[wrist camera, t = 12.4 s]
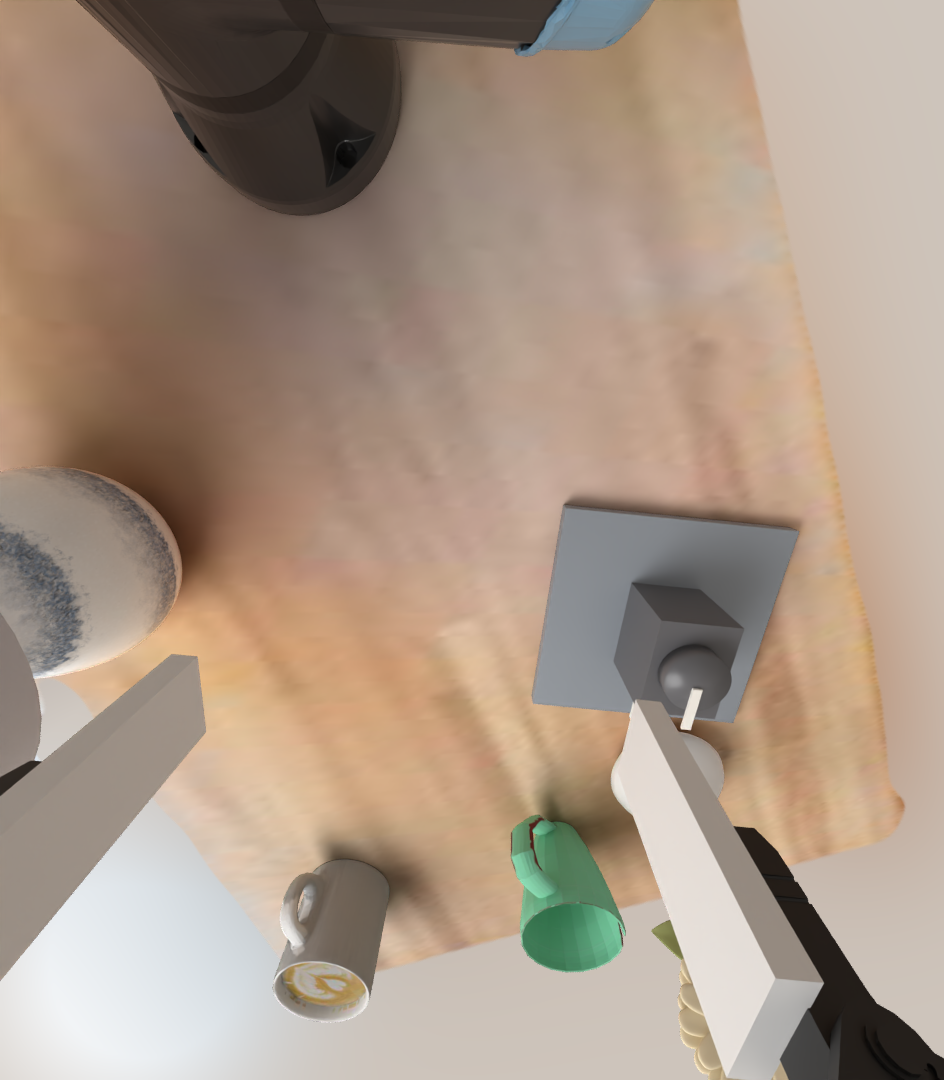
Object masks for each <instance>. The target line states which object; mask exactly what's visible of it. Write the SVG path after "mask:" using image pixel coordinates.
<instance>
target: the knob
mask: <svg viewBox="0 0 944 1080" xmlns="http://www.w3.org/2000/svg"><path fill="white" fill-rule="evenodd" d="M743 632H744V628H743V627H742V626H741V625H740V624H739V623H737V622H736V621H735V620H734V619H733V618H732V617H731V616H730V615H728V614H727V613H726V612H725V611H724V610H723V609H722V608H721V607H719V606H718V605H717V604H716V603H715V602H714V601H713V600H712V599H711V598H709V597H708V596H707V595H706V594H705V593H704V592H703V591H702V590H700V589H691V588H681V587H671V586H661V585H651V584H641V583H631V587H630V591H629V595H628V600H627V604H626V609H625V613H624V617H623V622H622V626H621V630H620V635H619V639H618V643H617V648H616V652H615V657H614V661H613V662H614V664H615V666H616V668H617V670H618V672H619V674H620V676H621V678H622V680H623V682H624V684H625V686H626V688H627V690H628V692H629V694H630V696H631V698H632V701H633V703H634V704H635V700H636V699H638V700H648V701H658V702H661V703H662V704H663V706H664V708H665V710H666V711H667V713H668V715H678V716H684V717H683V720H682V724H681V727H680V728H681V729H684V730H691V727H692V724H693V721H694V717H698V718H708V719H715V717H716V714H717V711H718V708H719V705H720V702H721V700H722V699H723V698H724V697H725V696H726V695H727V693H728V691H729V689H730V687H731V682H732V676H731V672H730V671H731V668H732V665H733V662H734V659H735V656H736V653H737V650H738V647H739V644H740V641H741V638H742V635H743Z"/></svg>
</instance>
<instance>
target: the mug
mask: <svg viewBox="0 0 944 1080" xmlns="http://www.w3.org/2000/svg"><path fill="white" fill-rule="evenodd" d="M533 833H535V834H536V836H535V839H534V840H533ZM511 860H512V863H513V866H514V869H515V872H516V875H517V878H518V879H519V880H520V881H521V883H522V884H523V885H524V892H523V901H522V911H521V920H520V931H521V942H522V947H523V948H524V950H525V952H526V953H527V955H528V956H529V957H530V958H531V959H533V960H534V961H535V962H536V963H538V964H539V965H542V966H544V967H546V968H549V969H551V970H556V971H562V972H584V971H588V970H592V969H596V968H599V967H600V966H603V965H605V964H607V963H609V962H611V961H612V960H613V959H614V958H615V957H616V956H617V955H618V954H619V953H620V951H621V949H622V947H623V938H622V933H621V929H622V931H623V934H624V936H625V935H626V931H625V927H624V923H623V920H622V918H621V915H620V913H619V911H618V909H617V906H616V904H615V902H614V899H613V897H612V895H611V892H610V890H609V888H608V886H607V884H606V882H605V880H604V878H603V876H602V874H601V872H600V870H599V868H598V866H597V864H596V862H595V860H594V859H593V857H592V855H591V853H590V852H589V850H588V848H587V846H586V845H585V843H584V842H583V840H582V839H581V838H580V836H579V835H578V833H577V832H576V830H575V829H574V828H573V827H572V826H571V825H569V824H567V823H564V822H550V821H548V820H546V819H545V818H543V817H542V816H540V815H534V816H531V817H529V818H527V819H526V820H524V821H523V822H522V823H520V824H519V825H517V826H516V827H515V828H514V830H513V831H512V833H511ZM620 926H621V929H620Z"/></svg>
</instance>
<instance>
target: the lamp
mask: <svg viewBox="0 0 944 1080" xmlns="http://www.w3.org/2000/svg"><path fill="white" fill-rule="evenodd" d="M181 581H182V560H181V555H180V551H179V547H178V544H177V542H176V539H175V537H174V535H173V533H172V531H171V529H170V527H169V526H168V524H167V523H166V521H165V520H164V519H163V517H162V516H161V515H160V514H159V512H158V511H157V510H156V509H155V508H154V507H153V506H152V505H151V504H150V503H149V502H148V501H147V500H145V499H144V498H143V497H142V496H140V495H139V494H138V493H136V492H135V491H133V490H132V489H130V488H128V487H127V486H125V485H123V484H121V483H119V482H117V481H115V480H113V479H110V478H108V477H105V476H103V475H99V474H96V473H93V472H90V471H85V470H81V469H75V468H69V467H61V466H31V467H21V468H13V469H8V470H3V471H0V777H1V776H3V775H5V774H6V773H8V772H10V771H12V770H14V769H16V768H17V767H19V766H21V765H23V764H25V763H27V762H29V761H30V760H31V761H34V759H35V756H36V753H37V750H38V746H39V743H40V732H41V711H40V703H39V695H38V690H37V687H36V684H35V681H34V679H35V678H46V677H53V676H59V675H64V674H69V673H74V672H78V671H81V670H85V669H88V668H92V667H95V666H97V665H100V664H103V663H105V662H108V661H110V660H113V659H115V658H117V657H119V656H121V655H123V654H125V653H126V652H128V651H130V650H132V649H133V648H135V647H136V646H138V645H139V644H141V643H142V642H143V641H144V640H145V639H147V638H148V637H149V636H150V635H151V634H153V633H154V632H155V631H156V630H157V629H158V628H159V627H160V626H161V624H162V623H163V622H164V620H165V619H166V618H167V616H168V615H169V613H170V611H171V610H172V608H173V606H174V604H175V602H176V599H177V597H178V594H179V591H180V587H181Z"/></svg>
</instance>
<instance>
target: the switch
mask: <svg viewBox="0 0 944 1080" xmlns="http://www.w3.org/2000/svg"><path fill="white" fill-rule="evenodd" d="M798 534H799V531H797V530H795V529H792V528H790V527H780V526H770V525H760V524H750V523H740V522H730V521H720V520H710V519H700V518H690V517H681V516H671V515H661V514H651V513H641V512H631V511H621V510H611V509H601V508H591V507H581V506H571V505H563V510H562V516H561V522H560V528H559V534H558V540H557V546H556V552H555V558H554V564H553V570H552V576H551V582H550V588H549V594H548V600H547V607H546V613H545V619H544V625H543V631H542V637H541V643H540V649H539V655H538V661H537V667H536V673H535V679H534V685H533V691H532V701H533V704H543V705H553V706H563V707H573V708H584V709H594V710H604V711H615V712H625V713H630V716H629V718H631V716H632V712H633V708H634V703H633V701H632V698H631V696H630V694H629V692H628V690H627V688H626V686H625V684H624V682H623V680H622V678H621V676H620V674H619V672H618V670H617V668H616V666H615V664H614V662H613V661H614V657H615V652H616V648H617V643H618V639H619V635H620V630H621V626H622V622H623V617H624V613H625V609H626V604H627V600H628V595H629V591H630V587H631V583H641V584H651V585H661V586H671V587H681V588H691V589H700V590H702V591H703V592H704V593H705V594H706V595H707V596H708V597H709V598H711V599H712V600H713V601H714V602H715V603H716V604H717V605H718V606H719V607H721V608H722V609H723V610H724V611H725V612H726V613H727V614H728V615H730V616H731V617H732V618H733V619H734V620H735V621H736V622H737V623H739V624H740V625H741V626H742V627H743V628H744V632H743V635H742V638H741V641H740V644H739V647H738V650H737V653H736V656H735V659H734V662H733V665H732V668H731V671H730V672H731V676H732V682H731V687H730V689H729V691H728V693H727V695H726V696H725V697H724V698H723V699H722V700H721V702H720V705H719V708H718V711H717V714H716V717H715V719H708V718H698V717H694V719H697V720H707V721H717V722H728V723H733V722H734V719H735V716H736V713H737V711H738V708H739V705H740V702H741V699H742V696H743V693H744V690H745V687H746V685H747V682H748V679H749V676H750V673H751V670H752V667H753V664H754V661H755V658H756V656H757V653H758V650H759V647H760V644H761V641H762V638H763V635H764V632H765V630H766V627H767V624H768V621H769V618H770V615H771V612H772V609H773V606H774V604H775V601H776V598H777V595H778V592H779V589H780V586H781V583H782V580H783V577H784V575H785V572H786V569H787V566H788V563H789V560H790V557H791V554H792V551H793V549H794V546H795V543H796V540H797V537H798ZM669 716H670V717H676V718H683V717H684V716H678V715H669Z"/></svg>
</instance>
